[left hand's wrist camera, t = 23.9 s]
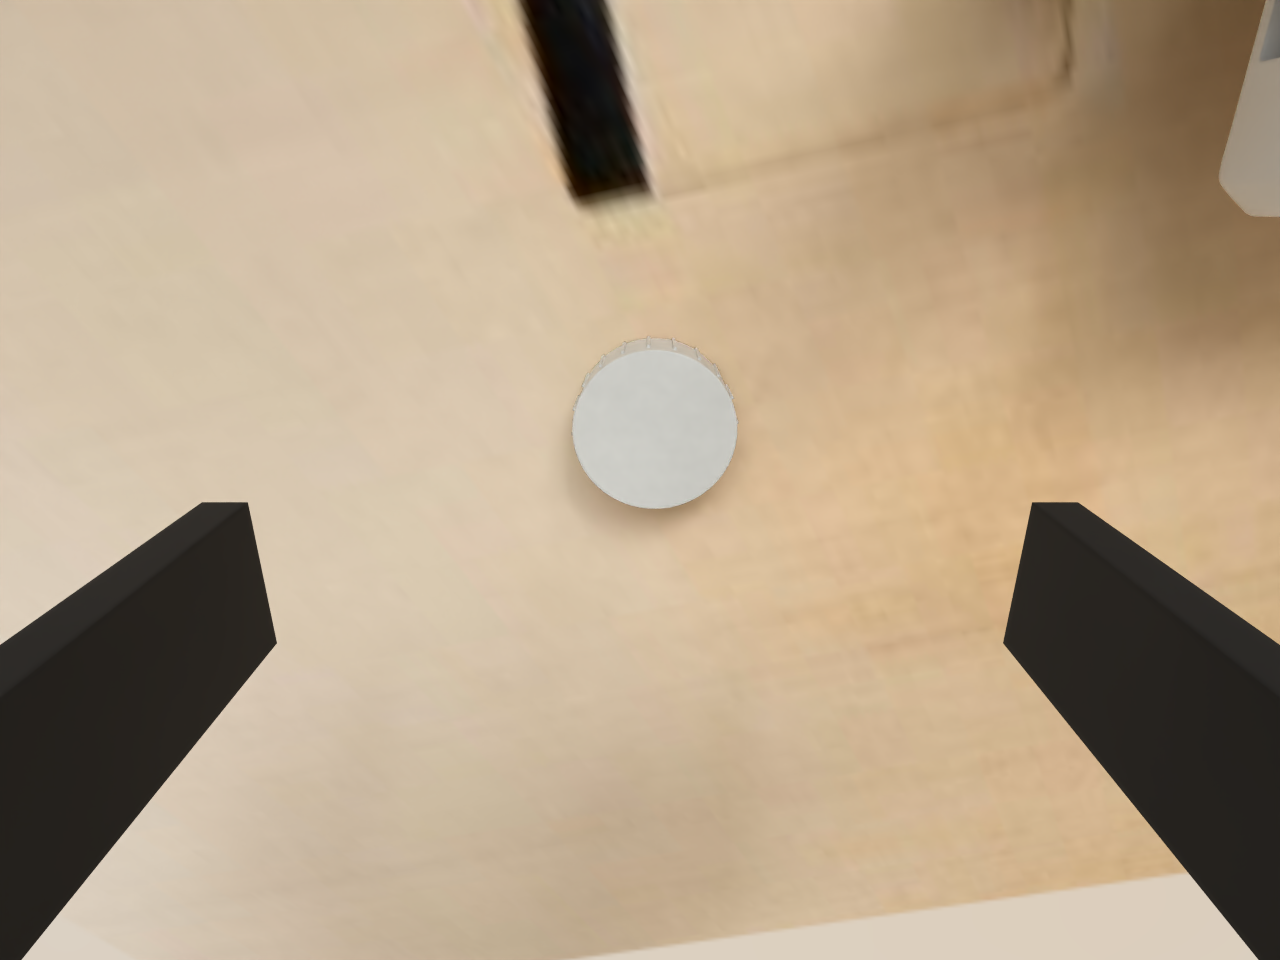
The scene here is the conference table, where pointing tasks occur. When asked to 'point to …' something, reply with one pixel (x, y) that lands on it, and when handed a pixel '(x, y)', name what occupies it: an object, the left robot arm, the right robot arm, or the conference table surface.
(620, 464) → the lid
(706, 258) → the conference table surface
